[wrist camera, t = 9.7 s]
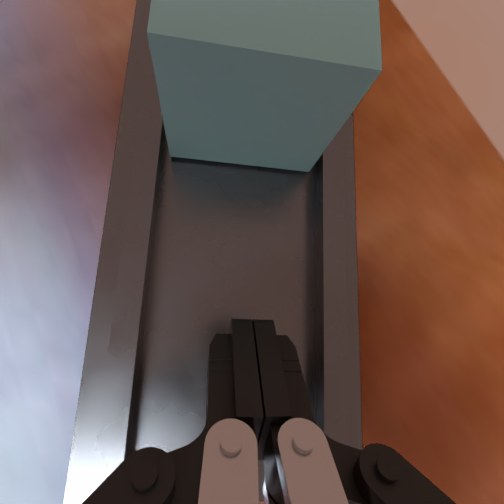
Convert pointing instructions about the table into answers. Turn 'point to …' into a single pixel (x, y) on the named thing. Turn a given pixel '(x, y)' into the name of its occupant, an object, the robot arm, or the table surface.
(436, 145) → the table surface
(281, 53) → the block
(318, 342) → the chute
